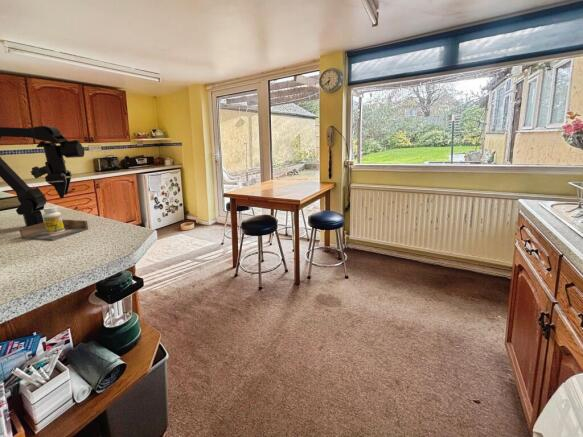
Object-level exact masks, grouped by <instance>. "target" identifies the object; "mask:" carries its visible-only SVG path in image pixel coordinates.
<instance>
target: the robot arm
mask: <svg viewBox="0 0 583 437" xmlns="http://www.w3.org/2000/svg"><path fill="white" fill-rule="evenodd" d="M3 137H4V138H5V137H6V138H8V137H9V138H27V139H28V138H29V139H34V140H38V141H39V143H38V144H37V145H36V148H43V151H44V152H43V153H44V155H45V159H46V160H45V162H44V166H41V167H39V166H37V165H36V166H34V167H31V171H30V174H31V176H33V177H34V178H35V179H39V178H42V177H43V176H45V177H44V179H45V182H46V183H48V184H49V185H51V186H53V188H54V189H55V191H56V193H57V195H58V197H59V198H60V199H64V198H65V196H66V195H68V194H69V193H68V192H69V189H70V184H71V180H72V176H73V175H72V172H71V170H69V169H67V167H66V160H65V159H64V158H68V159H69V158H70V159H71V158H73V159H74V158H83V157H84V156H85V148H84V146H83V145H82V143H80V140H79V139H78V140H77V139H74V140H68V139H67V138H66V137H65V136H63V134H62V133H61V131H60V130H59V129H58V127H56V126H53V125H52V126H51V125H49V126H48V125H40V126H32V127H10V126H9V127H7V126H0V141H1V140H2V138H3ZM57 144H58V145H57ZM0 178H1V179H2V180H3V181H4V182H5V183H6V184H7V185H8V186H9V187H10V188H11V189H12V190H13V191H14V193H15V194H16V197H17V200H18V202H19V203H20V204H19V205H18V207H17V208H16V209H15V211H16V213H17V215H18V216H21V215H22V217H23V221H24V224H25V225H23V226H21V228H25V227H29V226H33V225H36V224H40V223H44V218H43V215H42V210H43V209H44V208H45V205H46V204H47V198H46V194H45V193H43V191H41V189H40V188H39V187H30V185H28V184H27V182H25V181H24V180H23V179H22V178H21V177H20V176H19V175H18V174H17V173H16V171H14V169H13V168H11V167H10V166H9V165H8V163H7V162H6V161H5V160H4V159H3V158H2V157H1V156H0ZM43 211H44V210H43Z"/></svg>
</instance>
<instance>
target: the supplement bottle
mask: <svg viewBox="0 0 583 437" xmlns="http://www.w3.org/2000/svg"><path fill="white" fill-rule="evenodd" d="M43 212H44V214H43V215H42V216H43V220H44V222H45V226H46V230H47V233H48V234H56V233H61V232H63V231H64V230H65V229H64V225H63V221H62V219H63V218H62V213H61V212H60V211H58V207H57V206H49V207H44V209H43Z"/></svg>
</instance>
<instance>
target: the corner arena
mask: <svg viewBox="0 0 583 437" xmlns="http://www.w3.org/2000/svg"><path fill="white" fill-rule="evenodd" d="M62 221H63V225H64V229H65V230H64V231H63V232H61V233H56V234H48V233H47V230H46V226H45V222H44V223H40V224H36V225H33V226H29V227H25V228H22V227H21V228H19V233H20V236H21V239H29V240H40V241H41V240H42V241H52V242H53V241H57V240H60V239H62V238H65V237H68V236H71V235H75V234H78V233H81V232H84V231H88V230H89V226H88V220H82V219H81V220H79V219H64V218H62Z"/></svg>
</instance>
